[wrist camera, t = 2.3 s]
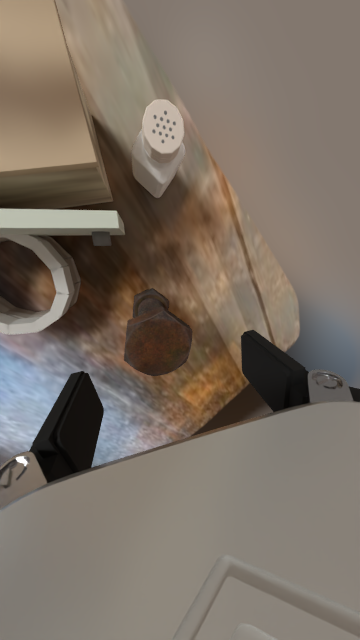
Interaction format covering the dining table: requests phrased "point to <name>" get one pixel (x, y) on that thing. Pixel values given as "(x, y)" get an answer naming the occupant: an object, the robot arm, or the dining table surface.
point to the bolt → (156, 336)
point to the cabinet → (44, 125)
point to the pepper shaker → (158, 147)
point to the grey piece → (53, 251)
